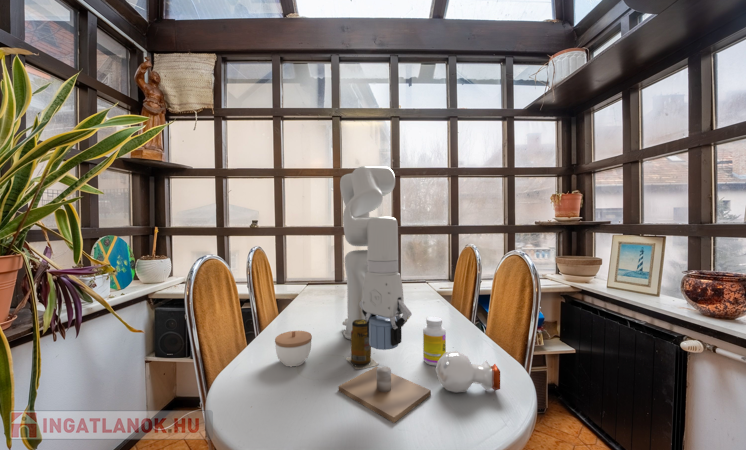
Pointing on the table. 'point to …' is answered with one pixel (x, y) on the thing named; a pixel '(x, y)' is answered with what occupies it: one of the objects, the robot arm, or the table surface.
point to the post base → (385, 392)
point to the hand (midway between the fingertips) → (383, 339)
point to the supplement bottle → (433, 340)
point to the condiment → (360, 346)
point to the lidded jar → (293, 347)
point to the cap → (380, 333)
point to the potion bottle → (465, 373)
